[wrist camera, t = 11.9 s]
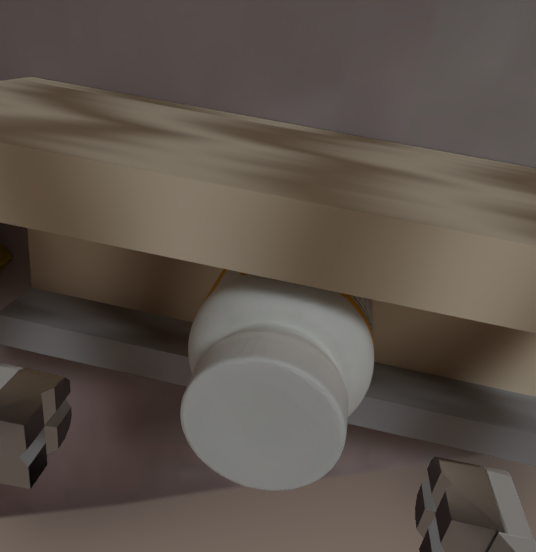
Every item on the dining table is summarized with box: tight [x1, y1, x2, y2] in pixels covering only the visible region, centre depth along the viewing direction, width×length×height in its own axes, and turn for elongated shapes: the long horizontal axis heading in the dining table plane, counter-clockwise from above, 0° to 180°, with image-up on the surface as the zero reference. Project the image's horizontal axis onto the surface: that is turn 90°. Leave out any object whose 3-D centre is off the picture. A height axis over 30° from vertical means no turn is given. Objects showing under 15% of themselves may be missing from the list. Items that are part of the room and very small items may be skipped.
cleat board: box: [0, 77, 536, 466], centre depth 17 cm, size 24×11×9 cm, turn 81°
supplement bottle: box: [180, 269, 374, 491], centre depth 16 cm, size 5×5×10 cm
